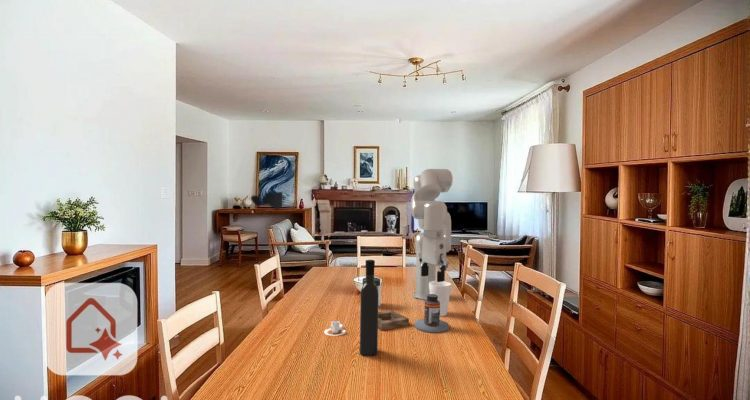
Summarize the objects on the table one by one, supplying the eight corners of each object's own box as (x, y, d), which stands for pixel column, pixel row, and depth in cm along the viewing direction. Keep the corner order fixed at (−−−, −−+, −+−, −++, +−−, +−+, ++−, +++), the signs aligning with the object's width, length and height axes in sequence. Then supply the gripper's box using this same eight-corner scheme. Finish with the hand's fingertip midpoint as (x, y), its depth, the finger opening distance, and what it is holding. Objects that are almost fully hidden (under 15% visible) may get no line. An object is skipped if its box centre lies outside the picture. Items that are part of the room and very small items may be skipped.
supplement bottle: (422, 321, 156) (423, 292, 155) (437, 321, 156) (438, 292, 156) (425, 326, 150) (426, 297, 149) (441, 326, 150) (442, 297, 150)
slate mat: (434, 319, 162) (434, 316, 162) (455, 329, 150) (455, 326, 150) (408, 324, 155) (408, 321, 155) (428, 335, 144) (428, 332, 144)
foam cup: (453, 312, 171) (453, 282, 171) (447, 318, 163) (448, 287, 162) (431, 309, 175) (432, 280, 175) (425, 315, 167) (426, 284, 166)
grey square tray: (391, 315, 165) (391, 309, 165) (408, 325, 154) (408, 318, 154) (365, 320, 159) (365, 314, 159) (381, 330, 148) (381, 323, 148)
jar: (384, 306, 178) (384, 279, 178) (370, 309, 173) (370, 282, 173) (371, 301, 185) (372, 276, 185) (358, 304, 180) (358, 278, 180)
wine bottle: (360, 348, 131) (361, 258, 130) (377, 348, 131) (379, 259, 130) (359, 355, 126) (360, 261, 125) (377, 356, 125) (378, 262, 124)
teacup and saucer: (338, 327, 152) (338, 316, 152) (351, 332, 146) (351, 321, 146) (319, 332, 146) (319, 321, 146) (333, 338, 140) (333, 327, 140)
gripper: (456, 236, 146) (455, 282, 147) (427, 231, 161) (426, 273, 162) (440, 238, 142) (439, 285, 143) (412, 232, 157) (411, 275, 158)
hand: (432, 278), depth 152 cm, fingers open, 9 cm apart
